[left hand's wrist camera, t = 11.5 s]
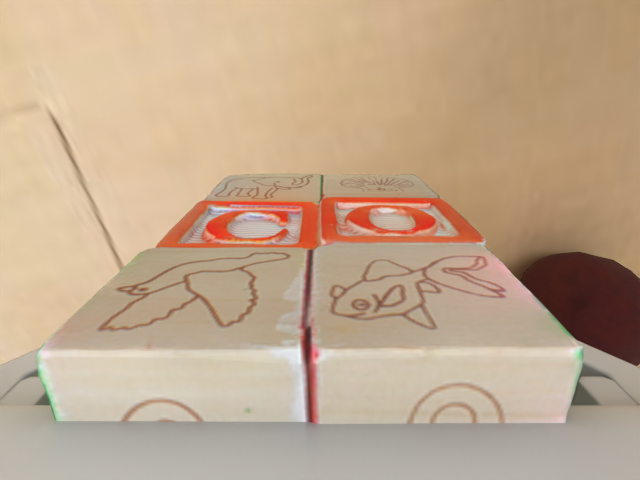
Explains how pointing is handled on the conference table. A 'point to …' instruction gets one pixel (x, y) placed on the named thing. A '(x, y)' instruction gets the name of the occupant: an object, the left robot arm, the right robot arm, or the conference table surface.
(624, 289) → the plum
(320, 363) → the stack of blocks
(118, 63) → the conference table surface
